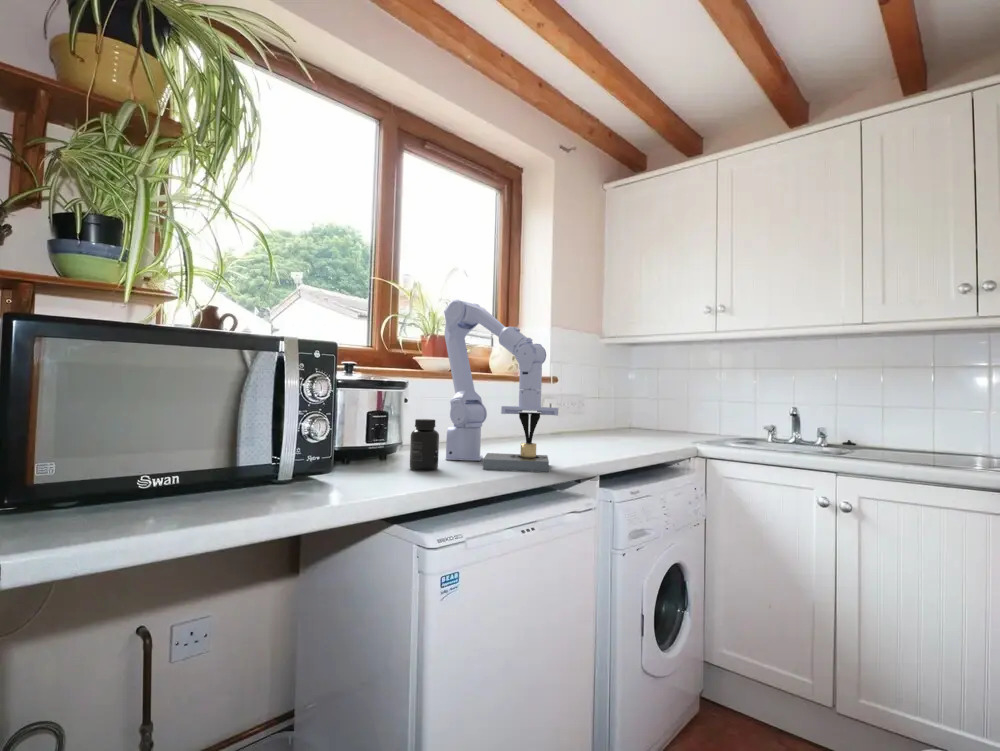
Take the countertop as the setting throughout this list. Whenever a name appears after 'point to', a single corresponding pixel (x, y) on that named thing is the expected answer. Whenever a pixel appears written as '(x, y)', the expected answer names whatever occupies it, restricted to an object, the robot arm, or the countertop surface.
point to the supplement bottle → (424, 446)
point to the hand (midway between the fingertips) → (528, 442)
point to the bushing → (528, 450)
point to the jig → (515, 462)
